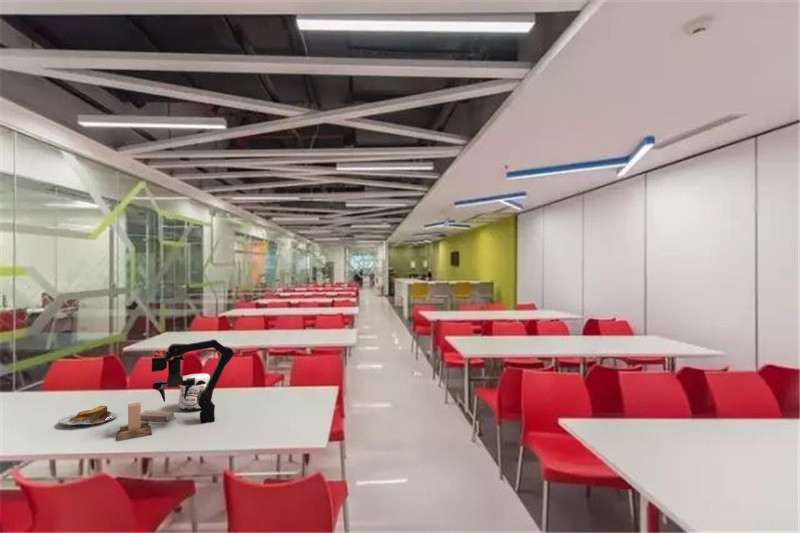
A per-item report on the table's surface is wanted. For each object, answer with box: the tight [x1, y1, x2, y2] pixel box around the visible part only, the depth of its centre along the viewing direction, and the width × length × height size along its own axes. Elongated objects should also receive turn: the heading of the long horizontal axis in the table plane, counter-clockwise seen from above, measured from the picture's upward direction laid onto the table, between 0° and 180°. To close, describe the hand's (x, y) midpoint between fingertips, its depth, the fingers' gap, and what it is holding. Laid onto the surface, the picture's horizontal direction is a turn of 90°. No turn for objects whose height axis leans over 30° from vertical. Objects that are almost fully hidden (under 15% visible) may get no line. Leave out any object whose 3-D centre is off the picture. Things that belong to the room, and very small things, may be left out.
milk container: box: [178, 372, 213, 411], centre depth 254 cm, size 17×17×18 cm
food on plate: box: [58, 405, 118, 426], centre depth 233 cm, size 25×25×7 cm
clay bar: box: [127, 402, 142, 431], centre depth 214 cm, size 5×5×13 cm
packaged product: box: [141, 410, 178, 426], centre depth 233 cm, size 18×5×10 cm
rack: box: [116, 422, 153, 442], centre depth 214 cm, size 14×13×3 cm
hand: (174, 400), depth 223 cm, fingers open, 9 cm apart
